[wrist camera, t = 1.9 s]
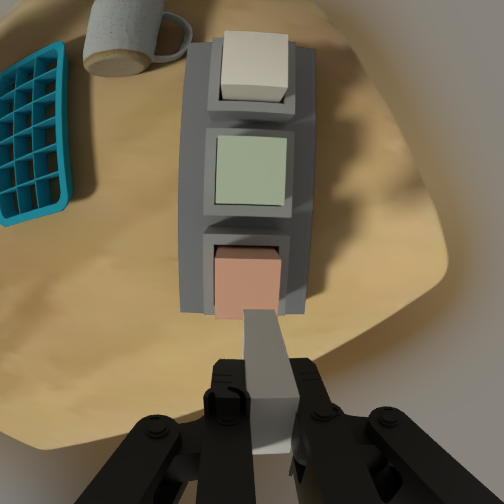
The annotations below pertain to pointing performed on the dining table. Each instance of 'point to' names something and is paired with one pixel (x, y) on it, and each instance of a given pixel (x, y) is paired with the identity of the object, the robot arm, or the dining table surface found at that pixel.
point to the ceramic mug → (127, 36)
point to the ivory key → (254, 66)
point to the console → (244, 215)
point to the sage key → (251, 170)
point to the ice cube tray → (34, 134)
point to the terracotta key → (246, 280)
